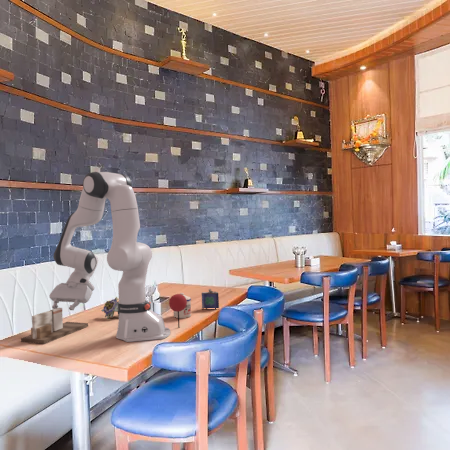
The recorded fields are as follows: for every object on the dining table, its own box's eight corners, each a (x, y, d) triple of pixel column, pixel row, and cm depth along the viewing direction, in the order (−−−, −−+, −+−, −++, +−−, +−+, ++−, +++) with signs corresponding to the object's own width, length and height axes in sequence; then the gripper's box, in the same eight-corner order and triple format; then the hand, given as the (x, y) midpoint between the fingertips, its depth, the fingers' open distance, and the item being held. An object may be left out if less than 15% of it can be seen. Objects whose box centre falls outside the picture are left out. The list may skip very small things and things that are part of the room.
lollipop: (190, 326, 180) (189, 293, 180) (179, 330, 174) (178, 296, 174) (177, 324, 185) (176, 292, 185) (166, 328, 178) (165, 295, 178)
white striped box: (59, 327, 179) (58, 307, 179) (63, 328, 178) (62, 307, 178) (50, 330, 174) (49, 310, 174) (54, 331, 173) (53, 310, 173)
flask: (201, 309, 214) (200, 289, 214) (202, 308, 217) (202, 288, 217) (218, 309, 212) (217, 289, 212) (219, 308, 215) (219, 288, 215)
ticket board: (67, 324, 191) (66, 302, 190) (88, 326, 186) (87, 303, 186) (20, 341, 165) (19, 315, 165) (43, 344, 161) (42, 317, 161)
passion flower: (109, 329, 201) (95, 309, 202) (123, 320, 210) (110, 301, 211) (121, 318, 195) (107, 299, 196) (135, 309, 205) (121, 291, 206)
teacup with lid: (186, 319, 194) (185, 295, 194) (169, 318, 198) (169, 294, 197) (197, 313, 205) (196, 290, 205) (181, 312, 209) (180, 290, 209)
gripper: (55, 279, 190) (40, 303, 181) (91, 280, 183) (76, 306, 174) (62, 286, 194) (48, 311, 185) (97, 288, 187) (84, 314, 178)
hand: (62, 309), depth 180 cm, fingers open, 8 cm apart
